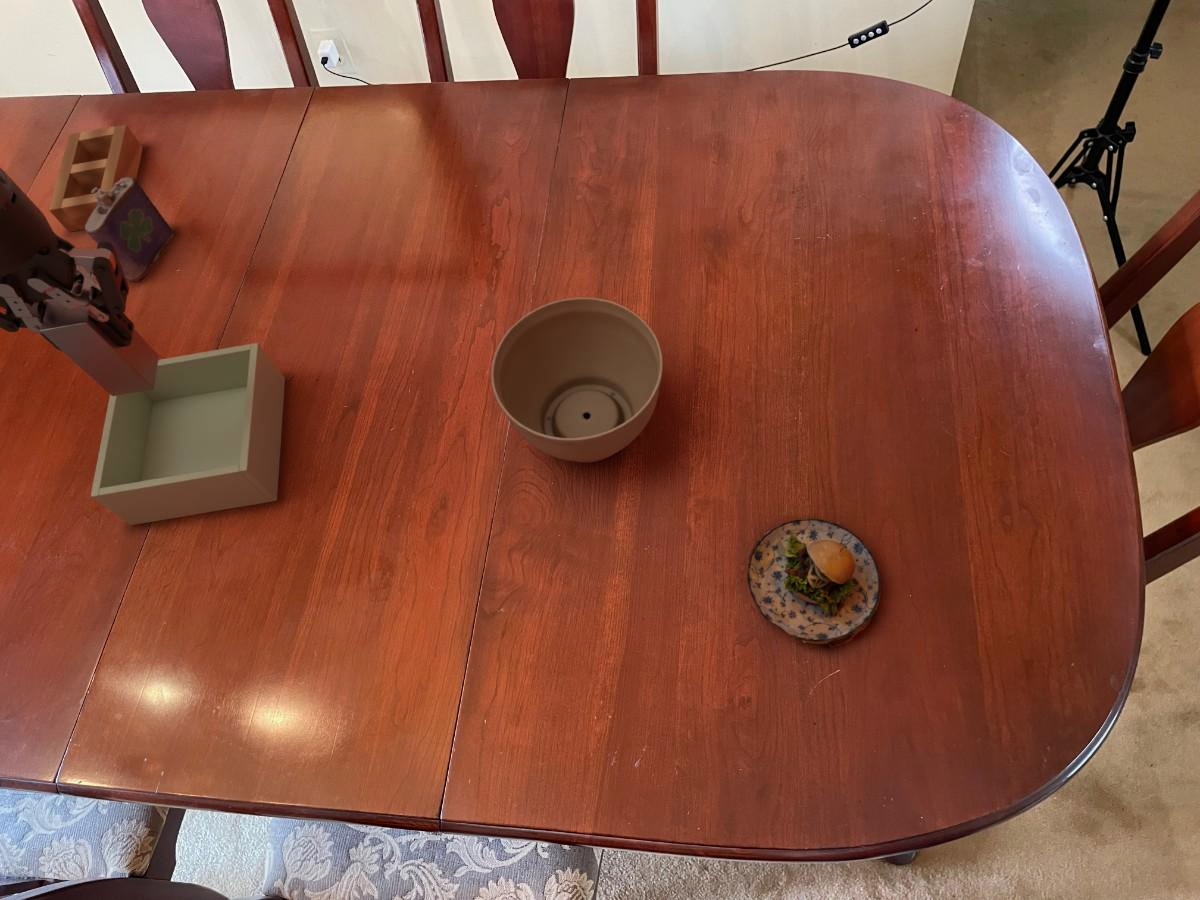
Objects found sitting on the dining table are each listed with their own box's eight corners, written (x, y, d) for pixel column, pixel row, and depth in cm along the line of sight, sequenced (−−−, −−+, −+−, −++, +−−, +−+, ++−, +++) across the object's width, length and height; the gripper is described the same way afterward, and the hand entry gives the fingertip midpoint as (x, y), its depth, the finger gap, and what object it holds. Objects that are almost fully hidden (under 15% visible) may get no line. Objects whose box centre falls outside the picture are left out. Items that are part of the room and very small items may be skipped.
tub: (130, 525, 88) (90, 496, 82) (150, 401, 96) (114, 367, 90) (277, 500, 88) (246, 470, 82) (285, 378, 96) (258, 342, 90)
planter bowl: (550, 519, 83) (530, 468, 74) (490, 399, 91) (466, 338, 82) (694, 451, 85) (693, 392, 76) (624, 339, 93) (615, 273, 84)
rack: (68, 232, 111) (48, 209, 108) (87, 157, 119) (69, 134, 115) (128, 221, 111) (109, 199, 108) (143, 147, 118) (126, 123, 115)
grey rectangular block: (112, 396, 79) (39, 331, 70) (118, 362, 81) (48, 294, 72) (154, 389, 79) (86, 322, 70) (159, 355, 81) (94, 286, 72)
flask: (140, 284, 105) (85, 221, 96) (121, 280, 106) (65, 217, 97) (178, 230, 109) (130, 164, 100) (159, 226, 110) (109, 161, 101)
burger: (737, 532, 81) (740, 497, 74) (862, 518, 80) (876, 482, 74) (758, 656, 75) (763, 630, 68) (893, 642, 74) (911, 614, 68)
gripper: (-157, 255, 59) (16, 391, 74) (42, 220, 58) (175, 363, 73) (-125, 180, 63) (34, 324, 77) (62, 146, 62) (185, 297, 77)
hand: (102, 342), depth 75 cm, fingers closed on grey rectangular block, 4 cm apart
